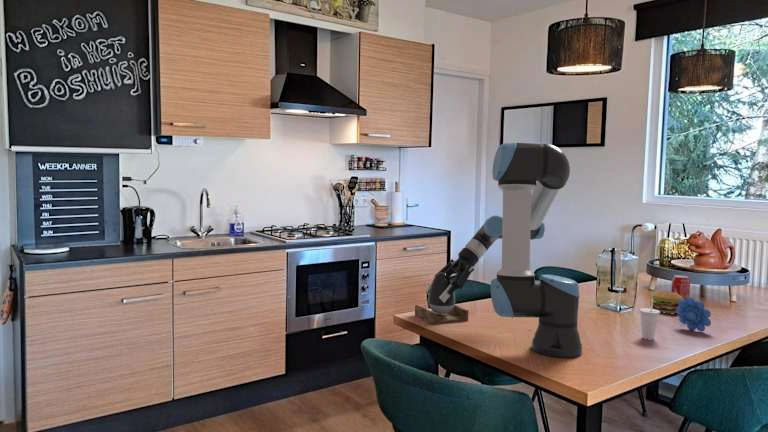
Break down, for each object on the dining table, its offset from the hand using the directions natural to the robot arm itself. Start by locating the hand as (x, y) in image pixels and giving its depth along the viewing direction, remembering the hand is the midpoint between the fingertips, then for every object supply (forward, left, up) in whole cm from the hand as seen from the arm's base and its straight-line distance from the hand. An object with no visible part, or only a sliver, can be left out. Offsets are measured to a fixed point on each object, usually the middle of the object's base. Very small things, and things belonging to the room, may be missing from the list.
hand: (434, 297), depth 211 cm
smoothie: (-47, -57, -9) cm, 74 cm away
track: (0, -3, -8) cm, 9 cm away
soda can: (-14, -115, -9) cm, 116 cm away
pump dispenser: (0, -3, -6) cm, 7 cm away
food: (-22, -98, -9) cm, 101 cm away
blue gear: (-46, -80, -9) cm, 93 cm away
